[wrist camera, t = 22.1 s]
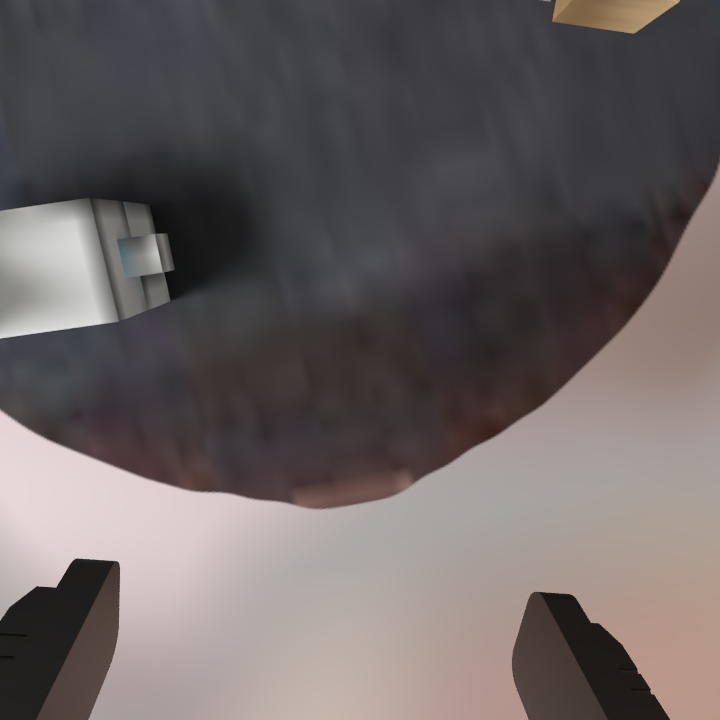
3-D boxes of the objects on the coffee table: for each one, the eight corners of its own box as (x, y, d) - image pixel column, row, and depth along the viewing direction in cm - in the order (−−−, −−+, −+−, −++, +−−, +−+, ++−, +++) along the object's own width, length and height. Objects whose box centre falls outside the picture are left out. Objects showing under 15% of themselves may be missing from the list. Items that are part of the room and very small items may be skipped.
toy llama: (201, 296, 45) (82, 349, 26) (-13, 327, 46) (-289, 401, 26) (181, 199, 44) (38, 177, 24) (-41, 232, 44) (-357, 236, 25)
